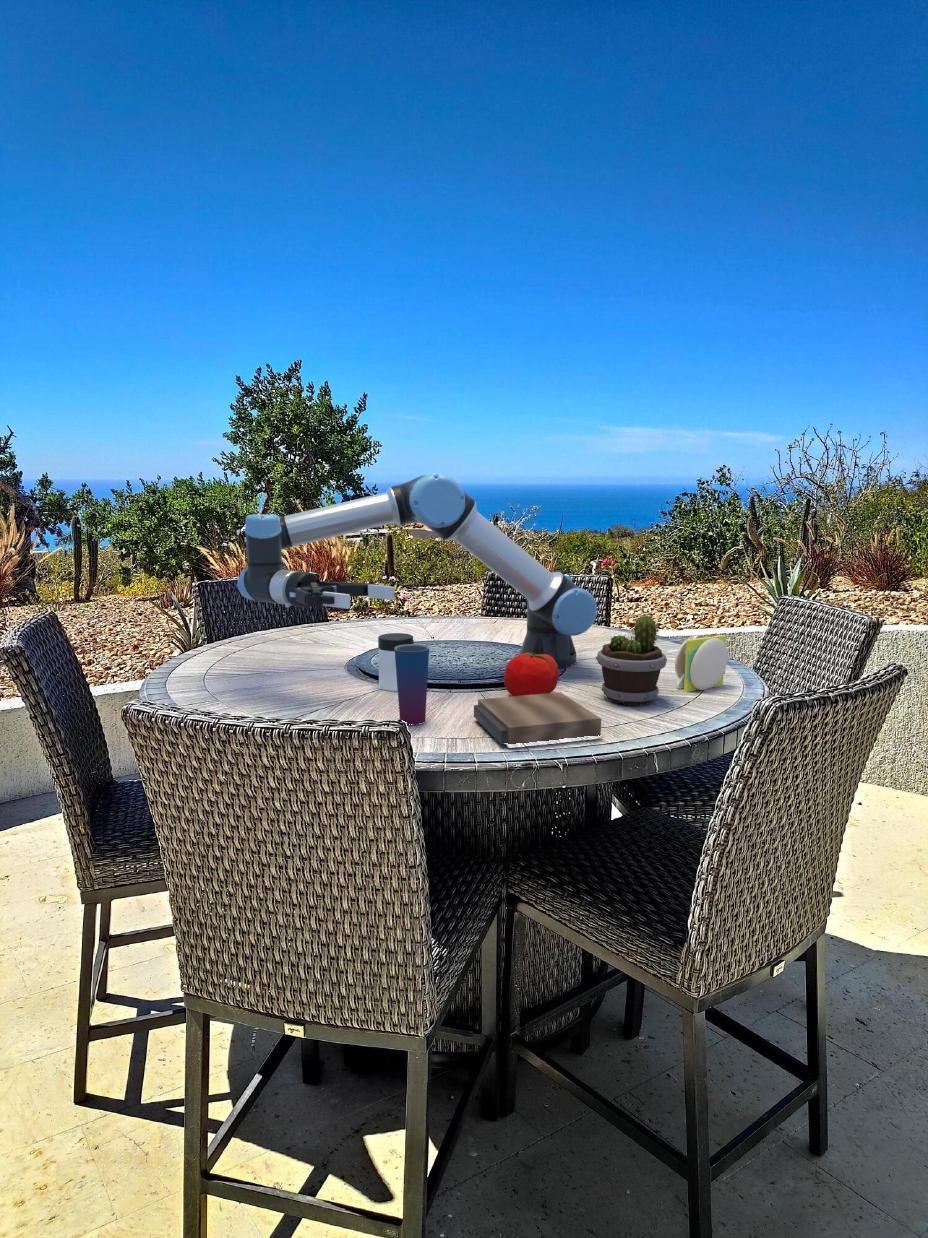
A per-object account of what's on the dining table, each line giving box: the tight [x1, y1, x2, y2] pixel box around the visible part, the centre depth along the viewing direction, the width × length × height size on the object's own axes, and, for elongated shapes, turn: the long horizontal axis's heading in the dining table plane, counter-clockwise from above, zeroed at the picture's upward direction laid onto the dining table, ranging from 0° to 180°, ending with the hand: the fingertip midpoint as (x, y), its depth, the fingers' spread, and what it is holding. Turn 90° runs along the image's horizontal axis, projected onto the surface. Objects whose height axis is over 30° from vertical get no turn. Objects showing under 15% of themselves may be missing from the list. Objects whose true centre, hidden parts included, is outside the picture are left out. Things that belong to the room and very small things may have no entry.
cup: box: [394, 643, 430, 726], centre depth 141 cm, size 7×7×15 cm
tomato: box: [503, 652, 560, 697], centre depth 158 cm, size 11×13×10 cm
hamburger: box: [674, 634, 729, 693], centre depth 167 cm, size 12×8×12 cm
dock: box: [473, 691, 602, 744], centre depth 137 cm, size 19×18×4 cm
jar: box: [377, 632, 415, 693], centre depth 166 cm, size 9×8×12 cm
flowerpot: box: [595, 610, 668, 707], centre depth 155 cm, size 14×15×20 cm
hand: (371, 597), depth 143 cm, fingers open, 13 cm apart
